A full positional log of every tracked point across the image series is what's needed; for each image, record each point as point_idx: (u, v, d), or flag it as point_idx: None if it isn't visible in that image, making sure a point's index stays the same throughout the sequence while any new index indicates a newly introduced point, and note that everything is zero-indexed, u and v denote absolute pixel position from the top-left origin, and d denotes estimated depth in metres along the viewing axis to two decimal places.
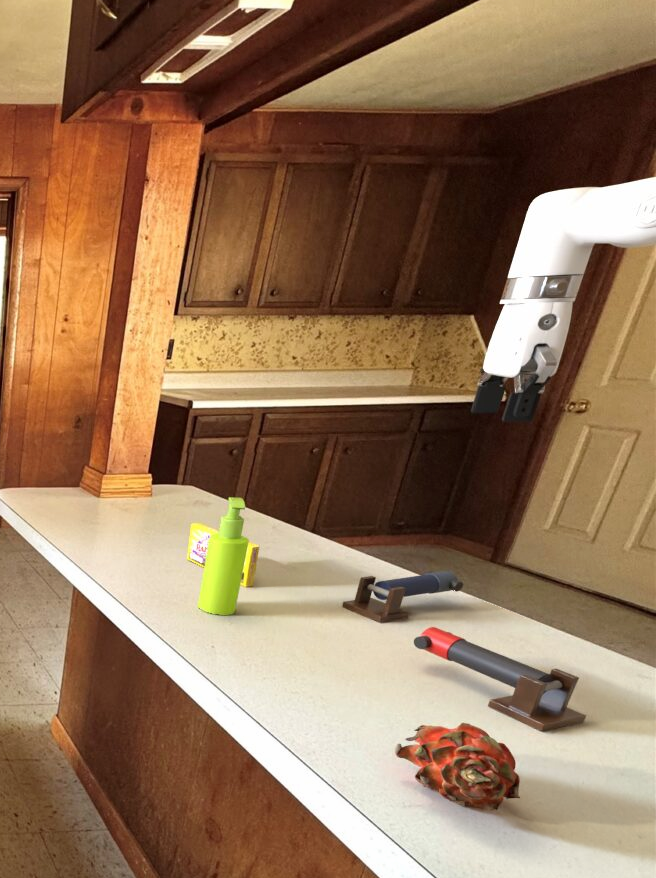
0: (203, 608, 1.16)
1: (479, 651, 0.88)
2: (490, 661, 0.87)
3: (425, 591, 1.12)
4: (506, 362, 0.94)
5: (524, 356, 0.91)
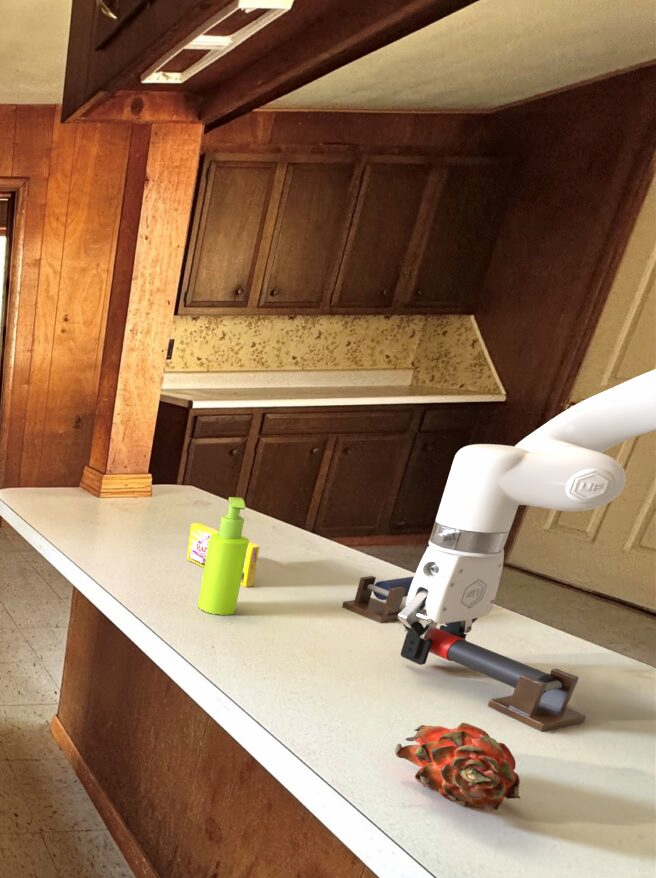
0: (203, 608, 1.16)
1: (479, 651, 0.88)
2: (490, 661, 0.87)
3: None
4: None
5: (410, 595, 0.92)
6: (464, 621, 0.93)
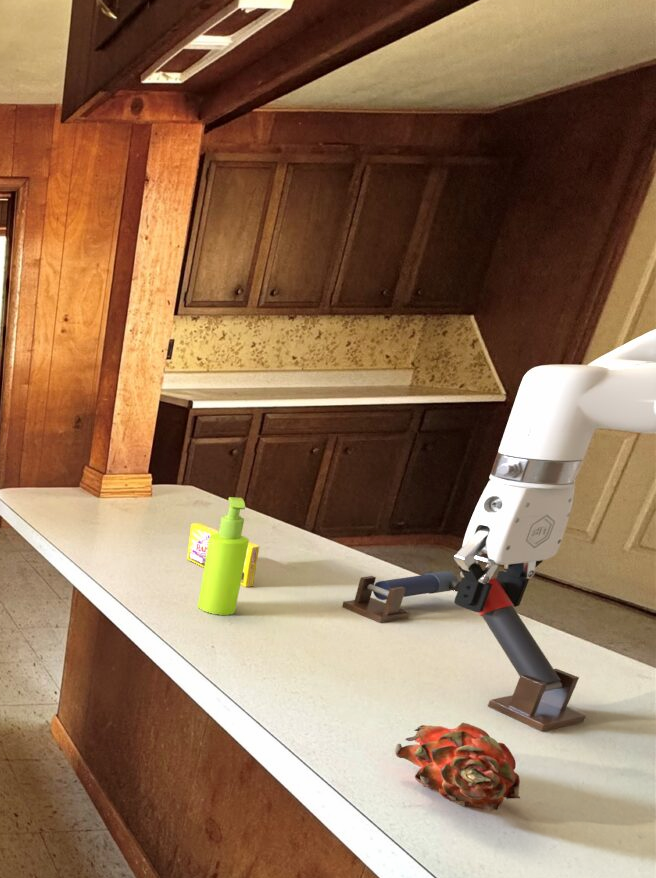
0: (203, 608, 1.16)
1: (516, 629, 0.84)
2: (518, 643, 0.84)
3: (425, 591, 1.12)
4: None
5: (468, 534, 0.84)
6: (527, 564, 0.85)
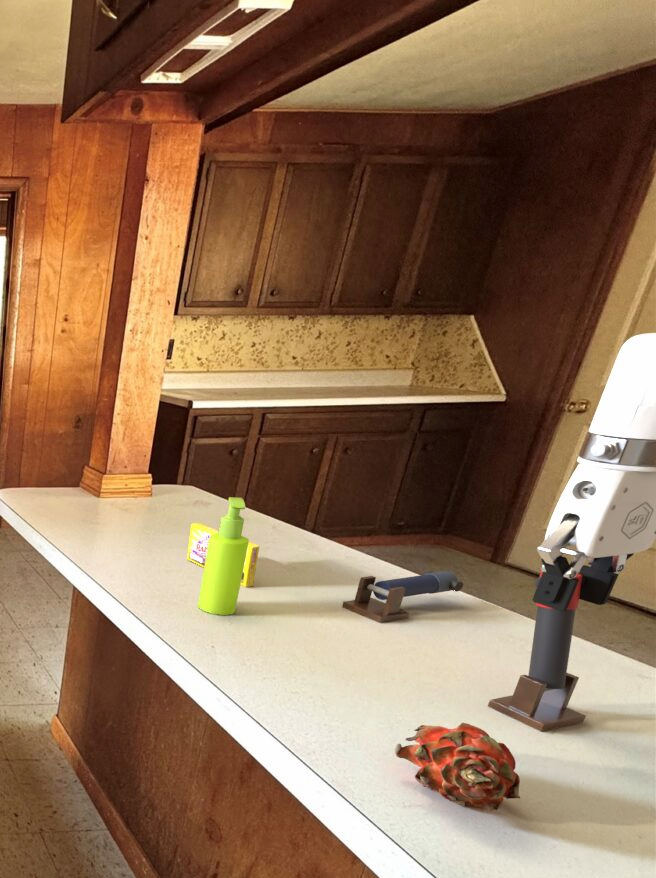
0: (203, 608, 1.16)
1: (562, 633, 0.79)
2: (552, 647, 0.80)
3: (425, 591, 1.12)
4: None
5: (552, 524, 0.76)
6: (617, 558, 0.76)
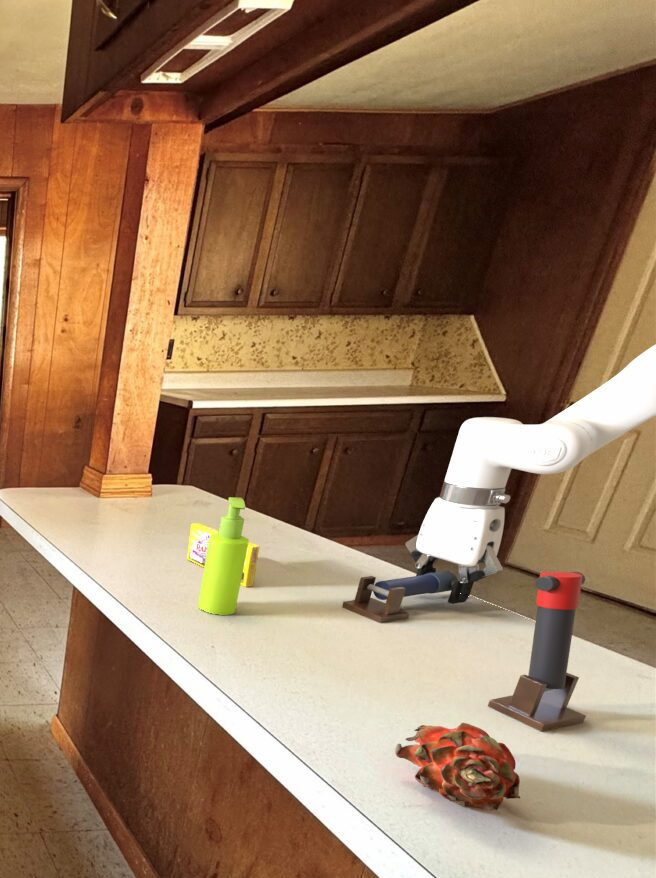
0: (203, 608, 1.16)
1: (562, 633, 0.79)
2: (552, 647, 0.80)
3: (425, 591, 1.12)
4: (459, 553, 1.09)
5: (480, 552, 1.07)
6: (438, 558, 1.16)
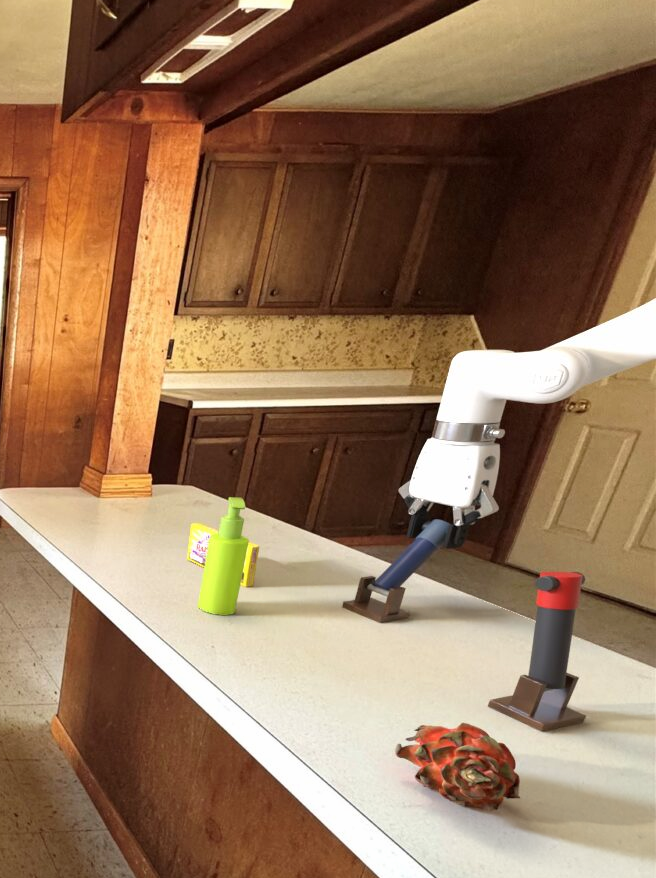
0: (203, 608, 1.16)
1: (562, 633, 0.79)
2: (552, 647, 0.80)
3: (425, 560, 1.10)
4: (453, 494, 1.05)
5: (475, 491, 1.02)
6: (432, 503, 1.11)
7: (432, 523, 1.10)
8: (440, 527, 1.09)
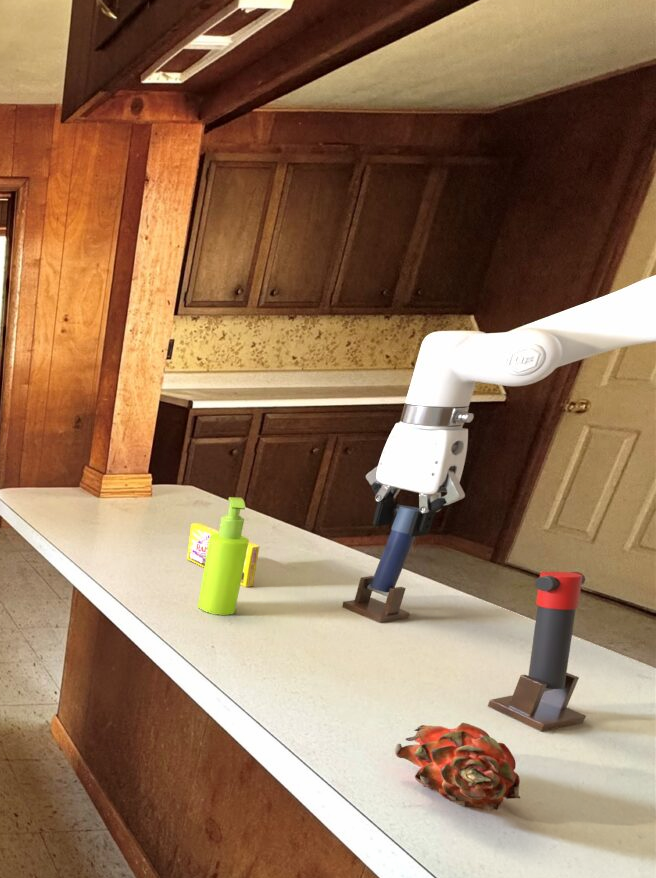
0: (203, 608, 1.16)
1: (562, 633, 0.79)
2: (552, 647, 0.80)
3: (409, 548, 1.08)
4: (419, 480, 1.02)
5: (442, 477, 0.99)
6: (399, 490, 1.08)
7: (399, 512, 1.07)
8: (408, 516, 1.06)
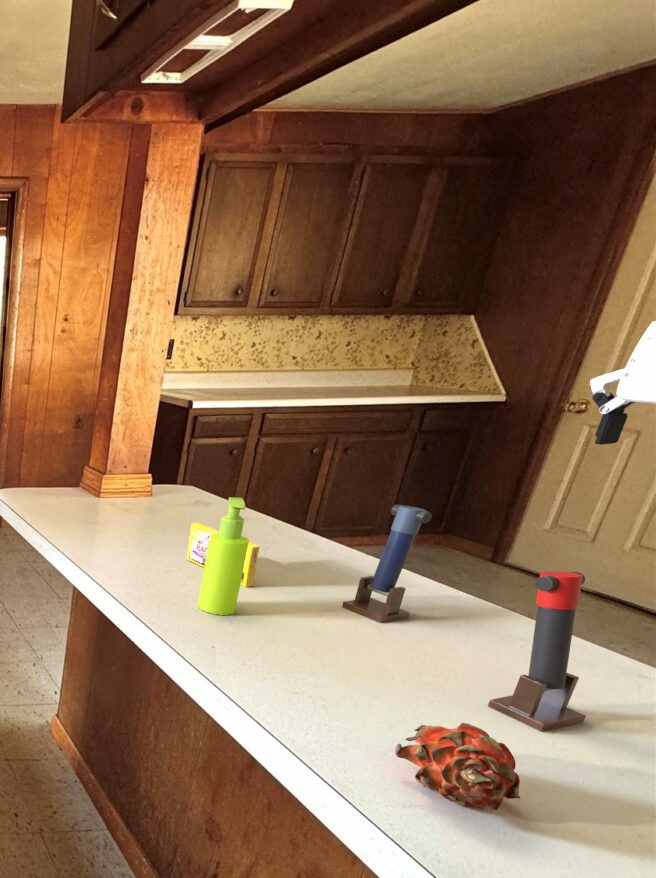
0: (203, 608, 1.16)
1: (562, 633, 0.79)
2: (552, 647, 0.80)
3: (409, 548, 1.08)
4: None
5: None
6: None
7: (399, 512, 1.07)
8: (407, 516, 1.06)
